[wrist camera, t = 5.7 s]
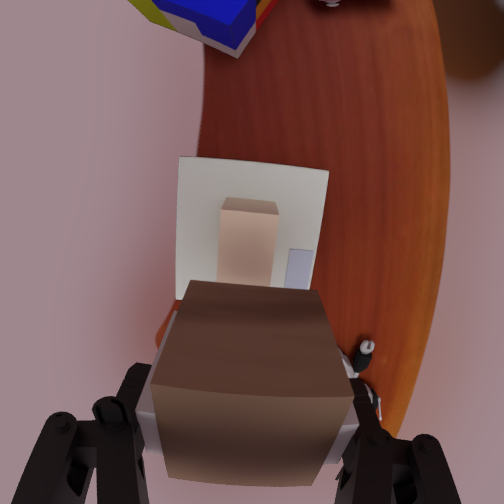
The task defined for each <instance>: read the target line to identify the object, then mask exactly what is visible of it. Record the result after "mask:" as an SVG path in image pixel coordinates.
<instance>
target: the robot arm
mask: <svg viewBox="0 0 504 504" xmlns="http://www.w3.org/2000/svg"><path fill="white" fill-rule="evenodd" d="M176 314H177V311H174V312H173V315H172V317H171V320H170V322H169V325H168V327H167V329H166V332H165V334H164V337H163V339H162V342H161V344H160V347H159V349H158V352H157V354H156V357H155V359H154V362H153V365H149V364H143V363H135V364H134V365H133V366H132V367H130V368H129V369H128V371H127V373H126V376H125V379H124V380H123V382H122V385H121V386H120V389H119V391H118V393H117V395H116V397H113V396H108V397H103V398H101V399H99V400H97V401H96V403H94V405H93V408H92V411H93V414H94V416H95V419H96V420H92V421H77V420H76V418H75V417H74V416H73V415H72V414H70V413H68V412H57V413H54V414H52V415H51V416H49V418H48V419H47V420H46V423H45V425H44V427H43V429H42V431H41V433H40V436H39V437H38V440H37V442H36V444H35V446H34V449H33V451H32V453H31V455H30V458H29V460H28V462H27V465H26V467H25V469H24V472H23V474H22V477H21V479H20V482H19V484H18V487H17V489H16V492H15V495H14V497H13V500H12V503H11V504H84V503H85V499H86V495H87V491H88V488H89V484H90V481H91V477H92V474H93V470H94V468H96V473H97V504H149V499H148V492H147V485H146V478H145V470H144V461H143V457H142V452H143V449H144V446H145V449H146V452H149V453H154V454H160V455H163V451H162V447H161V442H160V437H159V432H158V427H157V422H156V417H155V411H154V405H153V400H152V393H151V387H150V382H151V379H152V377H153V374H154V371H155V368H156V366H157V363H158V360H159V358H160V355H161V353H162V350H163V347H164V345H165V342H166V340H167V337H168V334H169V332H170V329H171V327H172V324H173V322H174V319H175V317H176ZM349 381H350V384H351V387H352V390H353V393H354V396H355V397H354V399H353V402H352V404H351V406H350V409H349V411H348V413H347V416H346V418H345V420H344V422H343V424H342V427H341V429H340V431H339V433H338V435H337V437H336V439H335V441H334V443H333V445H332V447H331V450H330V452H329V454H328V455H327V457H326V459H325V461H324V463H323V465H325V464H337V463H338V462H339V461H340V459H341V457H342V459H343V463H344V465H343V467H342V469H341V470H340V472H339V474H338V475H337V477H336V479H335V480H338V479H339V482H338V488H337V493H336V498H335V503H334V504H461V501H460V498H459V495H458V492H457V489H456V486H455V483H454V481H453V477H452V475H451V472H450V469H449V467H448V463H447V461H446V458H445V455H444V453H443V450H442V448H441V445H440V443H439V441H438V440H437V439H436V438H435V437H433V436H431V435H429V434H420V435H417V436H416V437H415V438H414V439H413V440H412V441H408V440H401V439H396V438H393V437H392V436H391V435H390V433H389V432H388V431H386V430H385V429H382V428H381V426H380V423H379V420H378V417H377V415H376V412H375V409H374V406H373V404H372V403H371V398H370V396H369V393H368V390H367V388H366V385H365V384H364V383H363V382H362V381H361V380H360V379H359V378H349Z"/></svg>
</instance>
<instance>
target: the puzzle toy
mask: <svg viewBox="0 0 504 504" xmlns="http://www.w3.org/2000/svg"><path fill="white" fill-rule="evenodd" d="M128 1H129V2H130V3H132V5H134V7H136V8H137V9H138V10H139V11H140V12H141V13H142V14H143V15H144V16H145V17H146V18H147V19H148V20H149V21H150V22H152V23H155V24H158V25H160V26H163V27H166V28H168V29H171V30H173V31H176V32H178V33H181V34H183V35H186V36H188V37H191V38H193V39H195V40H198V41H200V42H202V43H205V44H207V45H209V46H212V47H214V48H216V49H218V50H220V51H222V52H224V53H227V54H229V55H231V56H233V57H235V58H237V59H238V58H239V56H240V55H241V53H242V52H243V50H244V49H245V47H246V46H247V44H248V43H249V41H250V40H251V38H252V37H253V35H254V34H255V33H256V31H257V30H258V28H259V27H260V26H261V24H262V23H263V21H264V20H265V19H266V17H267V16H268V14H269V13H270V12H271V10H272V9H273V8H274V6H275V5H276V4H277V2H278V1H279V0H128Z"/></svg>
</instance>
